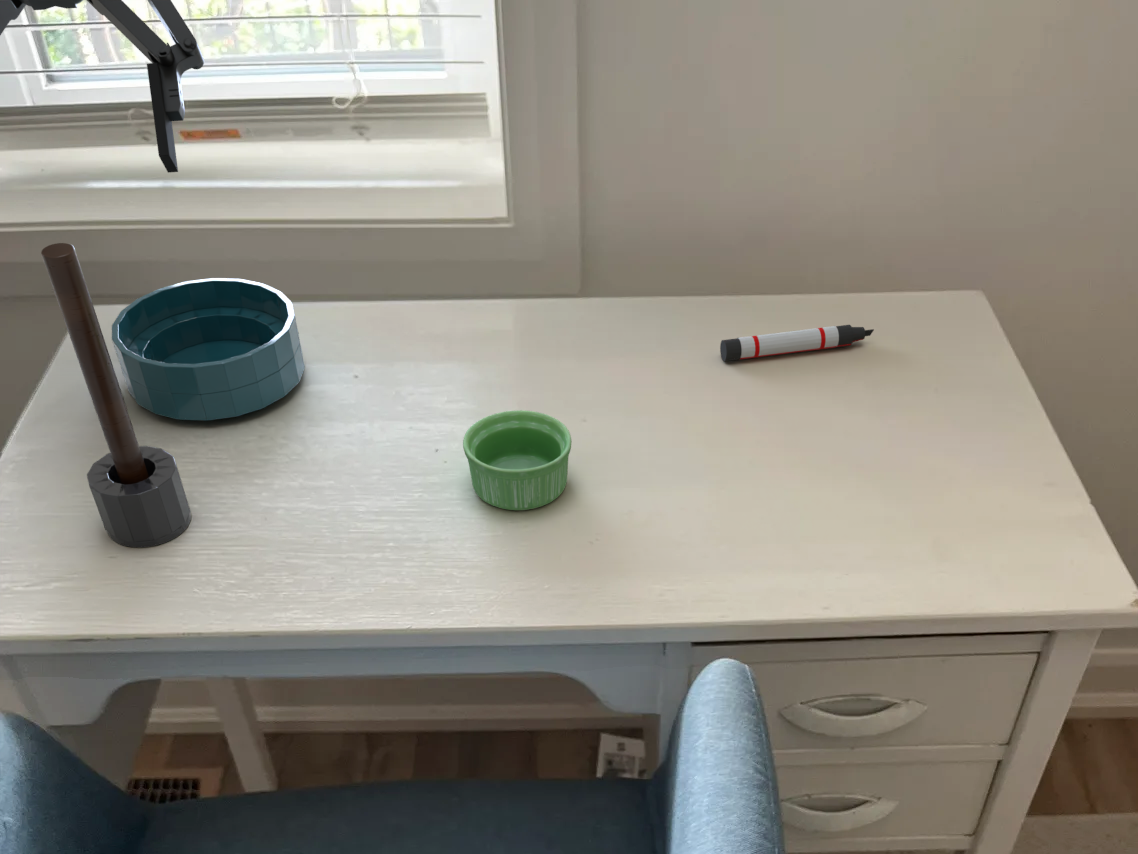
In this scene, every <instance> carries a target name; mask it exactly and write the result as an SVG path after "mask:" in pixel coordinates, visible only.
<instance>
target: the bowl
mask: <svg viewBox="0 0 1138 854" xmlns="http://www.w3.org/2000/svg"><path fill="white" fill-rule="evenodd" d="M296 319H297V318H296V314H295V308H294V304H293V302H292V301H291V300H290V299H289V298H288V297H287V296H286V295H285V294H284V293H283V292H282V291H281V290H279V289H276V288H274V287H273V286H270V285H268V284H265V283H263V282H260V281H259V282H258V281H253V280H249V279H243V278H229V277H227V278H226V277H211V278H202V279H195V280H186V281H182V282H178V283H174V284H171V285H167V286H163V287H160V288H158V289H155V290H153V291H150V292H148V293H146V294H144V295H142V296H140V297H138V298H135V300H134V301H132V302H131V303H129V304H128V305H126V306H125V307H124V308H123V309H122V310H121V311H120V312H119V313H118V314H117V317H116V318H115V320H114V321H113V323H112V324H111V341H112V344H113V348H114V350H115V354H116V357H117V360H118V363H119V366H120V369H121V372H122V376H123V378H124V381H125V385H126V388H127V391H128V393H129V394H130V395H131V397H132V398H133V400H134V401H135V402H136V404H137V405H138V406H140V407H142V408H143V409H145V410H147V411H149V412H151V413H152V414H154V415H158V416H162V417H166V418H167V417H168V418H169V419H174V420H179V421H180V420H181V421H182V420H183V421H214V420H221V419H222V420H223V419H229V418H235V417H241V416H243V415H246V414H251V413H252V412H256V411H258V410H262V409H264V408H266V407H267V406H270V405H272V404H274V403H275V402H277V401H279V400H281V399H283V398H285V397H286V396H287V395H288V394H289V393H290V392H291V391H292V390H293V389H294V388H295V387H297V385H298V384H300V381H301V379H302V377H303V374H304V372H305V368H306V365H305V361H304V355H303V350H302V345H301V339H300V335H299V330H298V325H297V324H298V323H297V320H296Z"/></svg>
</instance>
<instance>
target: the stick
mask: <svg viewBox="0 0 1138 854" xmlns="http://www.w3.org/2000/svg"><path fill="white" fill-rule="evenodd" d="M40 255H41V258H42V260H43V264H44V266H45V269H46V272H47V275H48V277H49V280H50V284H51V286H52V289H53V292H54V295H55V298H56V301H57V303H58V306H59V309H60V312H61V315H62V318H63V321H64V323H65V326H66V329H67V332H68V336H69V339H70V341H71V344H72V347H73V349H74V353H75V356H76V358H77V362H78V364H79V367H80V370H81V372H82V375H83V378H84V381H85V384H86V387H87V390H88V392H89V396H90V398H91V401H92V404H93V408H94V410H95V412H96V415H97V418H98V422H99V424H100V428H101V430H102V433H103V436H104V438H105V441H106V444H107V447H108V450H109V453H111V456H112V459H113V462H114V465H115V467H116V470H117V473H118V476H119V479H120V482H121V484H135V483H138V482H141V481H143V480H146V479H147V478H149V475H148V472H147V469H146V466H145V463H144V460H143V457H142V454H141V451H140V448H139V446H140V445H139V441H138V438H137V436H136V432H135V429H134V426H133V424H132V421H131V418H130V414H129V411H128V408H127V405H126V402H125V399H124V396H123V393H122V390H121V387H120V383H119V380H118V377H117V375H116V372H115V367H114V364H113V362H112V359H111V355H110V352H109V350H108V346H107V343H106V341H105V338H104V335H103V332H102V328H101V325H100V323H99V318H98V316H97V313H96V309H95V306H94V304H93V301H92V298H91V295H90V292H89V287H88V285H87V282H86V279H85V276H84V273H83V271H82V267H81V264H80V261H79V258H78V255H77V251H76V249H75V247H74V245H73V244H71V243H68V242H67V243H66V242H57V243H52V244H49V245H47V246H45V247H43V248H42V249H41V251H40Z"/></svg>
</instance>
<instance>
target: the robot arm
mask: <svg viewBox="0 0 1138 854" xmlns="http://www.w3.org/2000/svg"><path fill="white" fill-rule="evenodd" d="M83 1H84V0H0V36H1V35H2V34H3V32H4V31H5V30H6V28H7V26H8V25H9V23H10V22H11V21H15V20H17V19H18V18H19V16H20V15H21V14H22V12H23V11H24V9H25V8H26V6H28V7H31V8H32V10H33V11H45V10H48V9H51V8H54V7H57V8H61V9H66V10H67V9H77V8H78V6H77V5H78V4H81V3H82V2H83ZM86 2H88V4H90V5H91V7H93V8H94V9H95V11H96V12H98V13H99V14H100V15H102V16H104V17H105V18H106V19H107V20H108V21H109V22H110V23H111V24H112V25H113V26H114V27H115V28H116V30H118V31H119V32H120V33H121V34H122V35H123V36H124V37H125V38H126V39H127V40H128V41H129V42H130V43H131V44H132V45H133V46H134V47H135V48H137V50H138V51H139V52H140V53H141V54H143V56H144V57H146V58H147V59H148V60H149V61H150V62H151V63H149V62H148V63H146V69H147V78H148V83H149V92H150V100H151V107H152V114H153V115H152V116H153V121H154V130H155V137H156V145H157V153H158V157H159V159H160V161H161V163H162V164H163V166H164V168H165V170H166V172H167V173H168V174H169V173H179V168H178V161H177V152H176V145H175V136H174V129H173V122H181V121H182V122H183V121H184V119H185V116H186V111H185V102H184V101H185V100H184V96H183V95H184V93H183V86H182V76H183V74H184V73H185V72H187V71H188V70H191V69H193V70H200V69H202V68H203V67H204V64H205V59H204V57H203V54H202V51H201V48H200V46H199V44H198V42H197V39H196V38H195V36H194V34H193V33H192V31H191V30H190V28H189V26H188V25H187V23H186V21H185V20H184V18H183V17H182V15H181V13H180V12H179V11H178V9H177V7H176V6H175V5H174V3H173V2H172V0H147V2H148V4H149V6H150V7H151V9H152V10H153V11H154V13H155V15H156V16H157V18H158V19H159V21H160V22H161V24H162V25H163V27H164V29H165V30H166V33H168V35H169V37H170V38H171V40H172V41H173V43H174V44H173V45H170V43H169V42H167V43H166V42H164V40H163V39H162V38H161V37H160V36H159V35H158V34H157V33H155V31H153V29H152V28H150V26H149V25H147V23H146V22H145V21H143V19H141V18H140V17H139V15H137V14H136V13H135V12H134V11H133V10H132V9H131V8H130V6H128V5H127V4H126V3H125V2H124V1H123V0H86Z"/></svg>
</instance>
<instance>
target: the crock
mask: <svg viewBox="0 0 1138 854" xmlns="http://www.w3.org/2000/svg"><path fill="white" fill-rule="evenodd" d="M139 448H140V451H141V454H142V457H143V460H144V463H145V466H146V469H147V472H148V475H149V478H147V479H146V480H143V481H141V482H138V483H135V484H121V482H120V479H119V476H118V473H117V470H116V467H115V465H114V462H113V459H112V456H111V453H110V452H108V453H106V454H105V455H103V456H102V457H100V458H99V459H98V460H96V461H94V462H93V463H92V465H91V466H90V468H89V470H88V471H87V473H86V478H87V482H88V487H89V489H90V492H91V494H92V498H93V500H94V502H95V506H96V508H97V510H98V513H99V517H100V519H101V522H102V524H103V527H104V529H105V531H106V534H107V535H108V537H109V538H110V539H111V540H112V541H113V542H115V543H117V544H118V545H121V546H125V547H128V548H149V547H155V546H160V545H163V544H165V543H168V542H171V541H172V540H174V539H175V538H177V537H179V536H180V535H182V534H183V533H184V532H185V531H186V530H187V528H188V527H189V526H190V523H191V520H192V513H191V509H190V504H189V501H188V498H187V495H186V492H185V488H184V485H183V482H182V479H181V476H180V472H179V469H178V465H177V462H176V459H175V457H174V455H173V454H171V453H169V452H168V451H166V450H165V449H163V448H160V447H155V446H151V445H150V446H149V445H139Z"/></svg>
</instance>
